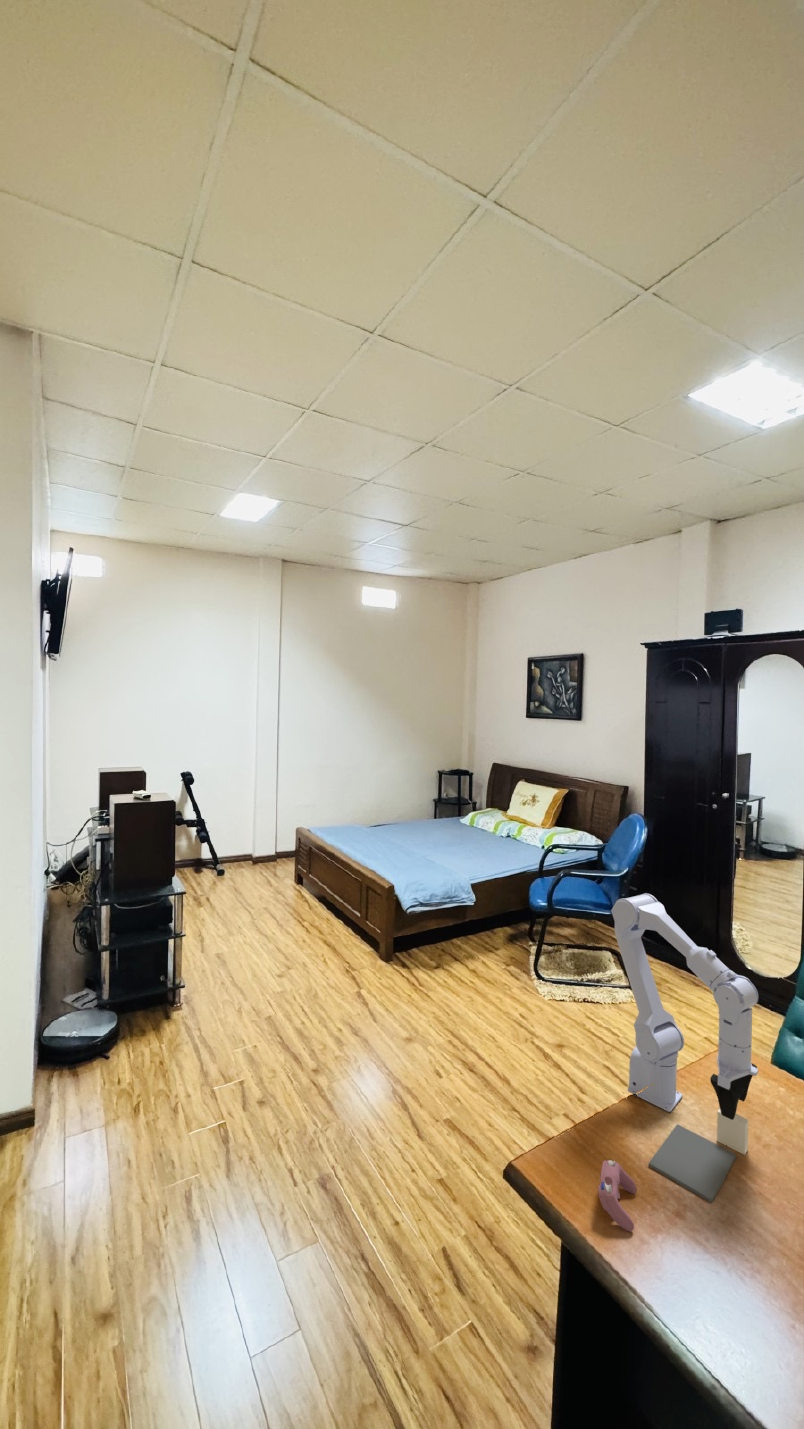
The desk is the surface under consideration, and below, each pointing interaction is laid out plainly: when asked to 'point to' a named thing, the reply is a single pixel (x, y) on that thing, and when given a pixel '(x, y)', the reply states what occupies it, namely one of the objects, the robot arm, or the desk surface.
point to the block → (733, 1132)
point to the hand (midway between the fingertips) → (733, 1107)
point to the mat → (693, 1162)
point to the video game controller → (615, 1192)
